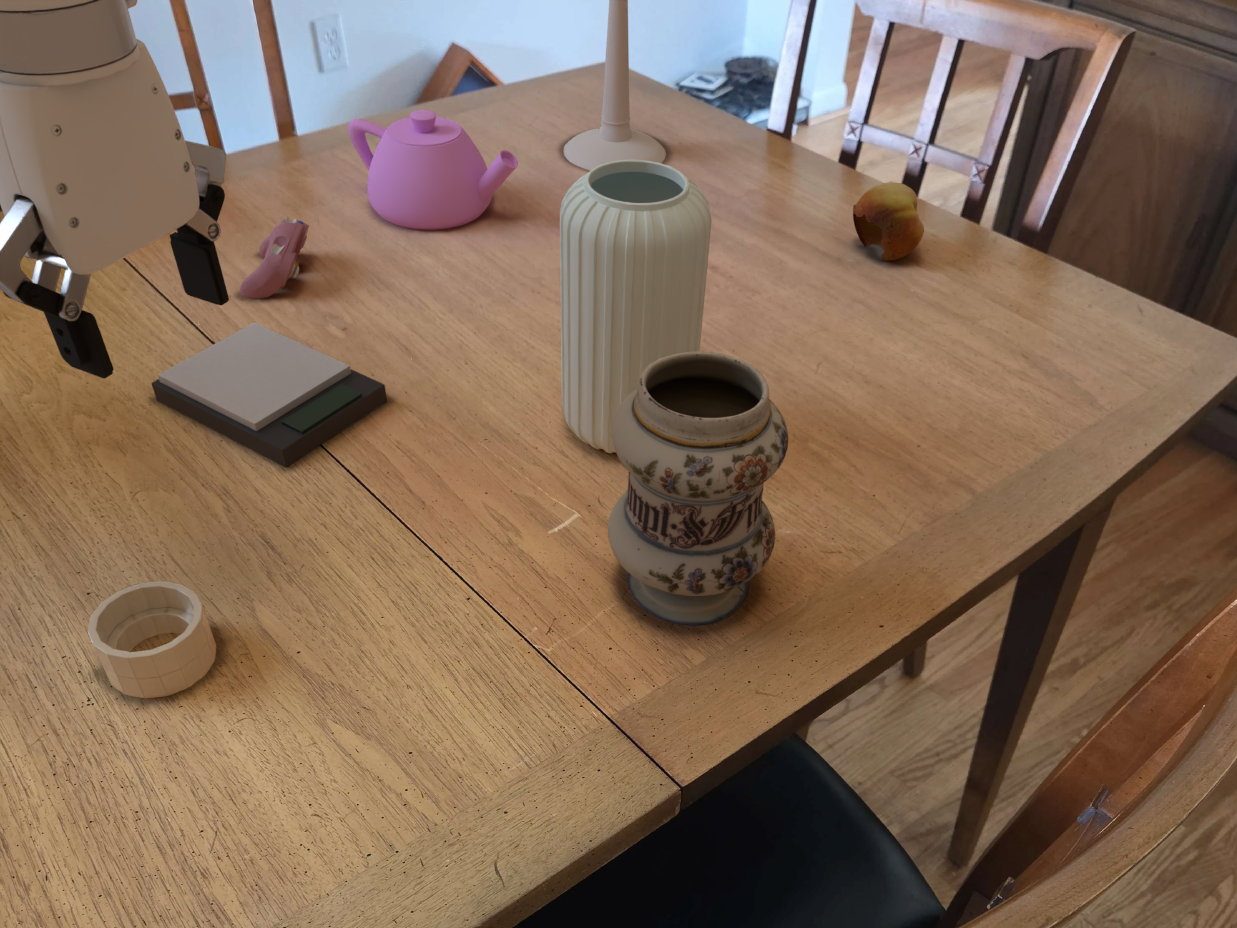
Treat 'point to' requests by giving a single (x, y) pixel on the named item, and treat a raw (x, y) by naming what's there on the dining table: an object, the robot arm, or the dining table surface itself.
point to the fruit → (889, 219)
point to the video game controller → (276, 260)
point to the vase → (627, 284)
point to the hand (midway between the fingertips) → (152, 332)
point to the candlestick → (614, 107)
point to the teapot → (428, 171)
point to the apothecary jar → (695, 485)
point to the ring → (147, 616)
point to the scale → (269, 393)
